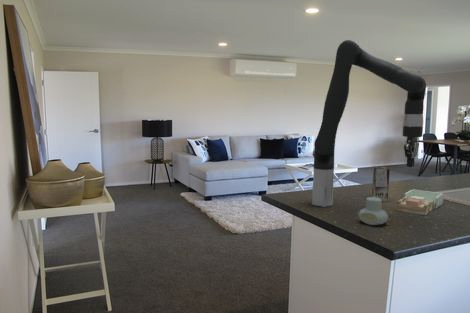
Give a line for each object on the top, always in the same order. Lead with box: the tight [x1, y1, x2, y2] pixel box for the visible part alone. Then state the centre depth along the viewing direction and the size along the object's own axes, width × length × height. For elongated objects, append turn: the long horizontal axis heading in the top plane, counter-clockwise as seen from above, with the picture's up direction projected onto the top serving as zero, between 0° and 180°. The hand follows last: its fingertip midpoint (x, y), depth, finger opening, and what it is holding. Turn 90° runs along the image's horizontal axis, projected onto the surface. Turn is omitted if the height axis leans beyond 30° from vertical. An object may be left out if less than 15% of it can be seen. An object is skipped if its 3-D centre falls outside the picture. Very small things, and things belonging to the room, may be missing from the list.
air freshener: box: [358, 196, 389, 226], centre depth 149 cm, size 11×8×10 cm
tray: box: [403, 188, 444, 210], centre depth 181 cm, size 13×14×5 cm
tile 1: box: [406, 198, 421, 207], centre depth 167 cm, size 5×5×2 cm
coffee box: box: [371, 166, 391, 203], centre depth 188 cm, size 9×6×16 cm
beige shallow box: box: [395, 196, 435, 216], centre depth 170 cm, size 14×12×4 cm
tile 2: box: [411, 196, 425, 204], centre depth 172 cm, size 5×5×2 cm
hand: (410, 166), depth 159 cm, fingers closed
